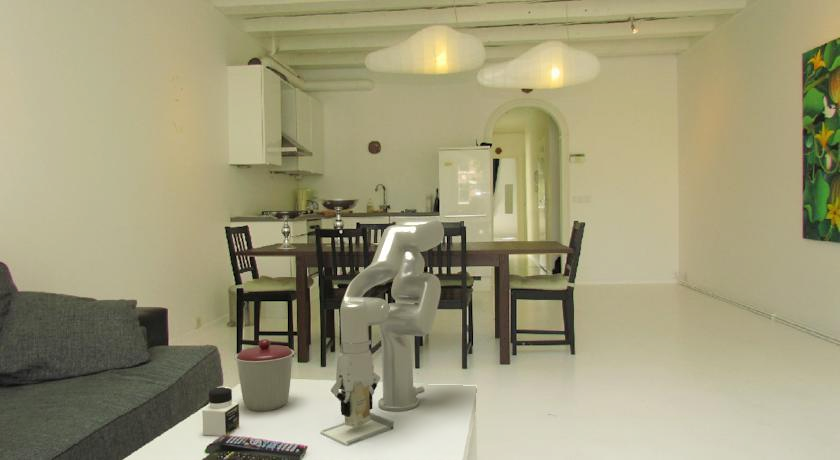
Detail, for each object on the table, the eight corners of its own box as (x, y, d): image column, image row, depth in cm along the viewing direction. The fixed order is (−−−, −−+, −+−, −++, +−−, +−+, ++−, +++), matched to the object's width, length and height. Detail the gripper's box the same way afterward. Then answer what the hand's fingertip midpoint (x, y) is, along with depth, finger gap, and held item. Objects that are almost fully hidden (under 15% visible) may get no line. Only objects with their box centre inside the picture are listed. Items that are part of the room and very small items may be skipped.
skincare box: (356, 428, 149) (355, 383, 149) (344, 425, 152) (342, 381, 151) (371, 420, 155) (369, 376, 154) (358, 418, 157) (357, 374, 157)
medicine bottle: (226, 436, 151) (224, 392, 151) (202, 435, 153) (201, 391, 153) (239, 427, 158) (238, 385, 158) (217, 425, 160) (215, 384, 160)
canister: (266, 419, 164) (264, 348, 163) (223, 410, 172) (221, 342, 172) (307, 401, 179) (305, 336, 179) (266, 393, 188) (264, 331, 188)
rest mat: (366, 418, 163) (366, 411, 163) (393, 428, 154) (393, 421, 154) (320, 433, 152) (320, 426, 152) (346, 446, 143) (346, 438, 143)
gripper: (371, 339, 161) (373, 401, 162) (320, 351, 149) (322, 417, 150) (388, 343, 156) (390, 407, 156) (336, 355, 144) (338, 424, 144)
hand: (357, 411), depth 153 cm, fingers closed on skincare box, 6 cm apart
